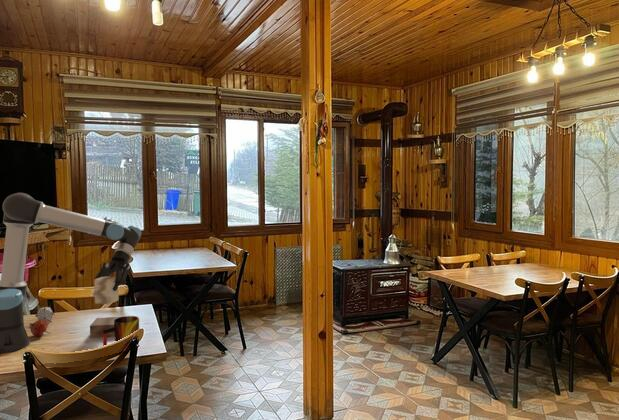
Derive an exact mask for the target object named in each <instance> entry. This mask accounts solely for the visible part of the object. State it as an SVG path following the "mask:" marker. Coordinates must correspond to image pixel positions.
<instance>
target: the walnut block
mask: <svg viewBox="0 0 619 420" xmlns="http://www.w3.org/2000/svg"><path fill="white" fill-rule="evenodd" d="M120 317H121V316H109V317H108V316H107V317H96V319H94V321H93V322H92V323H91V324H90V325H89V338H90V339H91V340H92V339H103V330H104V329H108V328H112V327H114V320H115V319H117V318H120ZM122 317H125V316H122ZM106 338H115V331H114V332H110V333H106Z"/></svg>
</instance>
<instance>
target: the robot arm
mask: <svg viewBox="0 0 619 420" xmlns="http://www.w3.org/2000/svg"><path fill="white" fill-rule="evenodd" d="M1 207H2V211H3V218H2V224H4V225H5V227H6V229H5V239H4V249H3V255H2V256H3V257H2V264H1V265H2V267H1V275H0V352H3V353H7V352H6V351H10V352H14V351H13V350H15V351H18V350H21V349H23V348H22V347H24V348H26V347H27V346H29V345H30V337H29V335H28V333H27V331H26V328H25V325H24V324H25V322H24V320H25V319H24V307H25V304H26V302H27V287H28V283H27V282H26V281H25V280H24V279H25V269H26V260H27V253H28V243H29V233H30V227H31V226H34V224H38V223H43V224H47V225H51V226H55V227H60V228H64V229H69V230H73V231H76V232H82V233H86V234H91V235H94V236H99V237H103V238H107V239H109V240H111V241H112V240H113V241H118V242H119V243H118V245H117V247H116V249H115V251H114V253H113V254H112V257H111V261H109V262H108V263H106V262H103V264H102V267H101V268H100V270H99V271H98V273H97V274H96V275H95V277H94V279H97V278H100V277H104V276H110V275H112V274H113V273H115V272H116V273H115V277H116V280H115V283H113V284H112V286H111V288H110V290H109V292H108V294H107V296H108V297H109V298H112V296H113V294H114V292H115V291H116V290H117V288H118V289H119V286H121V285H125V282H126V280H127V276H128V274H129V272H130V270H131V268H132V267H131V265H130V264H129V261H130V259H131V257H132V255H133V253H134V250H135V249H136V247H137V244H138V243H139V241H140V240H141V236H142V230H141V229H140V228H139V227H138V226H134V225H129V226H127V227H126V226H125V225H123V224H121V223H119V222H118V221H115V220H114V219H112V218H110V217H108V216H105V217H103V218H102V219H101V218H98V217H94V216H91V215H86V214H82V213H78V212H74V211H71V210H66V209H63V208H59V207H54V206H52V205H51V206H50V205H46V204H45V203H44V202H43V201H40V200H36V199H35V198H34V197H32V196H31V195H30V194H28V193H24V192H16V193H13V194H10V195H8V196H7V197H6V198H5V199H4V201H3V203H2V206H1ZM91 295H92V296H93V297H94V298H95V286H94V288H93V291H92V294H91ZM25 346H26V347H25ZM20 348H21V349H20ZM17 349H18V350H17Z"/></svg>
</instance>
